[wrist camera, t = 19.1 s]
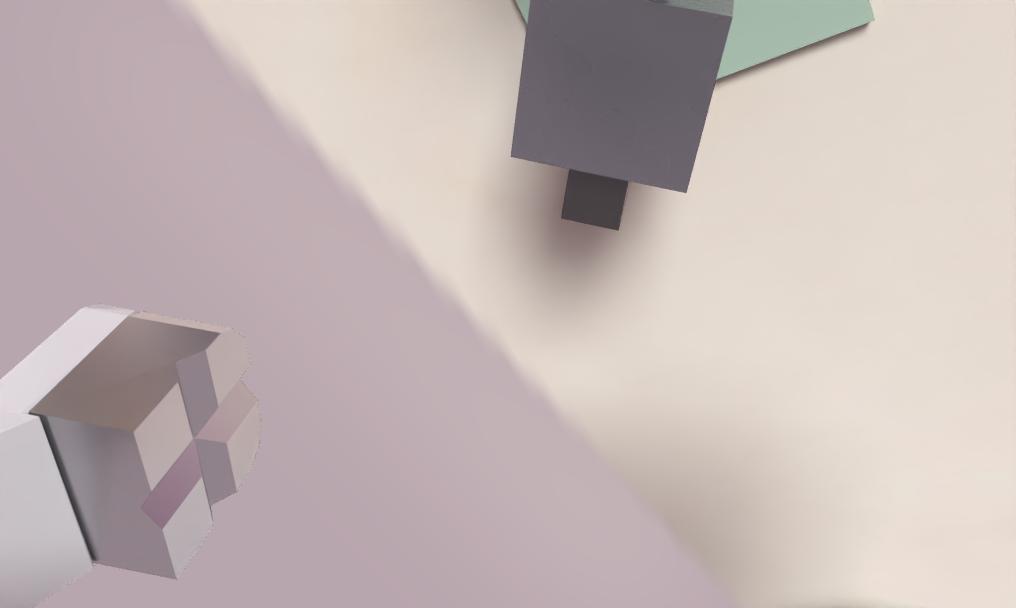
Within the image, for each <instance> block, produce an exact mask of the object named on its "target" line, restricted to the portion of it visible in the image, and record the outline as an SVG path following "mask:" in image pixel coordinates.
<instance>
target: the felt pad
mask: <svg viewBox="0 0 1016 608" xmlns="http://www.w3.org/2000/svg"><path fill="white" fill-rule="evenodd" d="M515 1H516V3H517V5H518V7H519V9H520V11H521V13H522V15H523V17H524V19H525V21H526V23H527V22H528V14H529V6H530V0H515ZM871 21H874V16H873V12H872V9H871V6H870V2H869V0H734V7H733V18H732V21H731V25H730V29H729V33H728V37H727V40H726V44H725V48H724V52H723V56H722V59H721V63H720V67H719V71H718V75H717V78H716V79H719V78H721V77H724V76H727V75H729V74H732V73H735V72H737V71H740V70H743V69H745V68H748V67H751V66H753V65H756V64H759V63H761V62H764V61H767V60H769V59H772V58H775V57H777V56H780V55H783V54H785V53H788V52H791V51H794V50H796V49H799V48H802V47H804V46H807V45H810V44H812V43H815V42H818V41H820V40H823V39H826V38H828V37H831V36H834V35H836V34H839V33H842V32H844V31H847V30H850V29H852V28H855V27H858V26H860V25H863V24H866V23H868V22H871Z"/></svg>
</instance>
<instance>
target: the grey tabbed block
mask: <svg viewBox="0 0 1016 608" xmlns="http://www.w3.org/2000/svg"><path fill="white" fill-rule="evenodd" d="M733 7H734V0H530V6H529V14H528V22H527V30H526V38H525V46H524V54H523V62H522V70H521V78H520V86H519V95H518V103H517V111H516V119H515V127H514V135H513V143H512V151H511V157H515V158H519V159H524V160H529V161H534V162H539V163H544V164H548V165H553V166H558V167H563V168H568V169H569V175H568V180H567V186H566V192H565V198H564V204H563V210H562V216H561V218H562V219H567V220H572V221H576V222H581V223H586V224H590V225H595V226H600V227H604V228H609V229H614V230H619V226H620V222H621V218H622V214H623V210H624V205H625V201H626V197H627V192H628V187H629V183H630V181H631V182H636V183H640V184H645V185H650V186H655V187H660V188H665V189H669V190H674V191H679V192H684V193H686V192H687V189H688V185H689V181H690V177H691V173H692V170H693V166H694V162H695V158H696V154H697V151H698V147H699V143H700V139H701V135H702V132H703V128H704V124H705V120H706V116H707V113H708V109H709V105H710V101H711V97H712V94H713V90H714V86H715V82H716V78H717V75H718V71H719V67H720V63H721V59H722V56H723V52H724V48H725V44H726V40H727V37H728V33H729V29H730V25H731V21H732V18H733Z"/></svg>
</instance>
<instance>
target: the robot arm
mask: <svg viewBox="0 0 1016 608" xmlns="http://www.w3.org/2000/svg"><path fill="white" fill-rule="evenodd" d="M250 365H251V361H250V357H249V352H248V348H247V344H246V340H245V337H244V336H243V335H242V334H240V333H239V332H237V331H236V330H234V329H232V328H227V327H222V326H216V325H212V324H206V323H201V322H196V321H191V320H186V319H180V318H175V317H170V316H165V315H159V314H154V313H149V312H138V311H134V310H129V309H124V308H119V307H114V306H108V305H103V304H96V305H92V306H87V307H83V308H81V309H80V310H79V311H78V312H77V313H76V314H75V315H73V316H72V317H71V318H70V319H69V320H68V321H67V322H65V324H63V325H62V326H61V327H60V328H59V329H58V330H56V331H55V332H54V333H53V334H52V335H51V336H50V337H48V338H47V339H46V340H45V341H44V342H43V343H42V344H40V345H39V346H38V347H37V348H36V349H35V350H34V351H33V352H31V353H30V354H29V355H28V356H27V357H26V358H25V359H23V360H22V361H21V362H20V363H19V364H18V365H17V366H16V367H14V368H13V369H12V370H11V371H10V372H9V373H8V374H6V375H5V376H4V377H3V378H2V379H1V380H0V608H33V607H35V606H36V605H38V604H39V603H41V602H42V601H44V600H45V599H47V598H49V597H50V596H52V595H53V594H55V593H56V592H58V591H59V590H61V589H63V588H64V587H65V586H67V585H69V584H70V583H72V582H73V581H75V580H76V579H78V578H80V577H81V576H83V575H84V574H86V573H87V572H89V571H90V570H92V569H93V568H94V565H93V563H97V564H102V565H106V566H112V567H117V568H122V569H127V570H132V571H137V572H142V573H147V574H152V575H157V576H162V577H167V578H172V579H177V578H178V577H179V576H180V574H181V573H182V571H183V570H184V568H185V567H186V565H187V564H188V562H189V561H190V560H191V558H192V557H193V555H194V554H195V552H196V551H197V549H198V548H199V546H200V545H201V544H202V542H203V541H204V539H205V538H206V536H207V535H208V533H209V532H210V530H211V529H212V528H213V526H214V525H213V518H212V512H211V505H213V504H215V503H217V502H219V501H220V500H222V499H224V498H226V497H228V496H230V495H232V494H234V493H236V492H237V491H238V489H239V488H240V486H241V485H242V483H243V481H244V480H245V478H246V477H247V475H248V474H249V472H250V471H251V468H252V465H253V462H254V459H255V456H256V453H257V450H258V447H259V444H260V433H261V415H260V410H259V403H258V400H257V398H256V397H255V396H254V395H253V394H252V393H251V391H250V390H249V389H248V388H247V387H246V385H245V384H244V383H243V382H242V381H241V380H240V379H241V377H242V376H243V375H244V373H245V372H246V370H247V369H248V368H249V367H250Z"/></svg>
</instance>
